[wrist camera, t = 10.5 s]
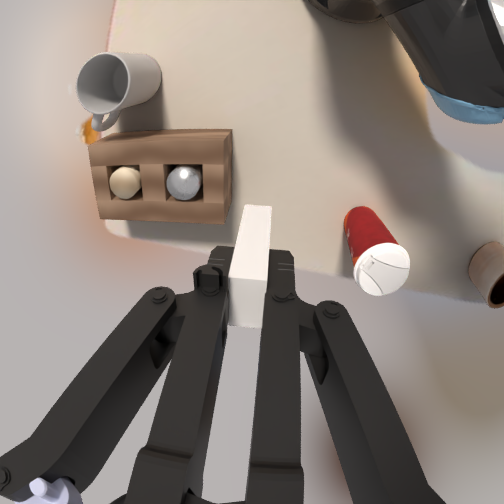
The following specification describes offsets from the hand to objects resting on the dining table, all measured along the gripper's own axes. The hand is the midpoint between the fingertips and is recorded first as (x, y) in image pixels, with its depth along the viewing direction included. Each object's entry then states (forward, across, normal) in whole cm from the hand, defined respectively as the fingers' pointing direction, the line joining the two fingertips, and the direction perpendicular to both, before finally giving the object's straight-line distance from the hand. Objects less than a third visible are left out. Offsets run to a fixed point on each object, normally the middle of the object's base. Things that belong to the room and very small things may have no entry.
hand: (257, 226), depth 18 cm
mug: (+30, -22, +7) cm, 38 cm away
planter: (+31, +50, -20) cm, 61 cm away
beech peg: (+29, -20, -6) cm, 36 cm away
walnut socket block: (+30, -16, -6) cm, 34 cm away
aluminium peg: (+29, -11, -6) cm, 32 cm away
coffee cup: (+30, +16, -14) cm, 37 cm away
